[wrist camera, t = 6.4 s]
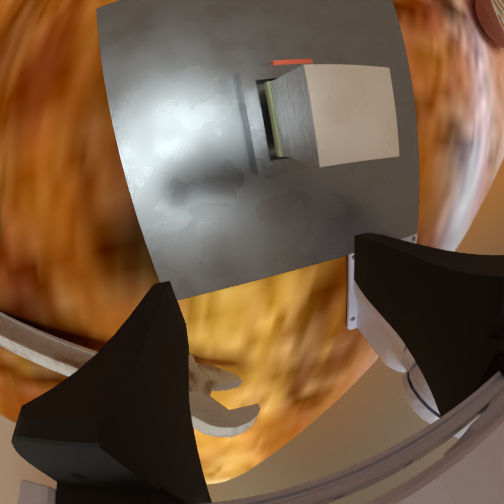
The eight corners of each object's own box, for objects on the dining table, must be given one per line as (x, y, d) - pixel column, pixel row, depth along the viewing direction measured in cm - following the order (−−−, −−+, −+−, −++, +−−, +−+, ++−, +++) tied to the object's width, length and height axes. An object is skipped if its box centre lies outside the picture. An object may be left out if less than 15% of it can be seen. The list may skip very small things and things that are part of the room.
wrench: (-8, 287, 20) (253, 362, 26) (-6, 300, 21) (248, 374, 26) (-49, 327, 13) (264, 430, 18) (-43, 341, 13) (257, 441, 19)
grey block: (342, 146, 15) (401, 158, 11) (276, 155, 15) (317, 170, 10) (333, 78, 13) (390, 65, 9) (263, 83, 13) (300, 62, 8)
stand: (407, 228, 24) (431, 242, 21) (169, 291, 21) (166, 318, 18) (380, -2, 14) (404, -13, 11) (102, 15, 12) (87, -3, 8)
